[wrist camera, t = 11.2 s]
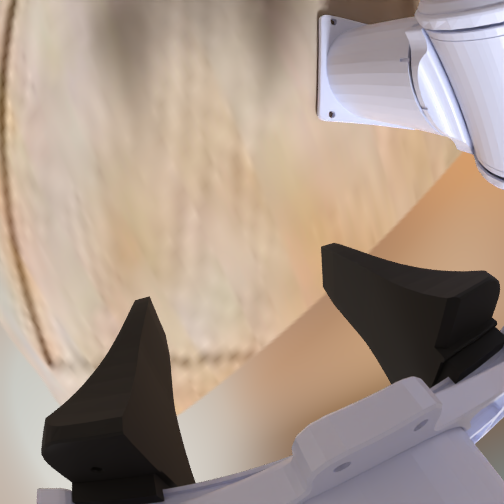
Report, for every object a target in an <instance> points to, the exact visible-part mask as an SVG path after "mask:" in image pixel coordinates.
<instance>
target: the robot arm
mask: <svg viewBox="0 0 504 504" xmlns="http://www.w3.org/2000/svg"><path fill="white" fill-rule="evenodd" d="M414 15H415V16H414V17H408V18H401V19H396V20H390V21H385V22H380V23H375V24H370V25H368V24H365V23H361V22H357V21H353V20H349V19H345V18H341V17H336V16H332V15H322V16H321V17H320V18H319V70H318V106H317V115H318V118H319V119H320V120H323V121H334V122H348V123H359V124H370V125H379V126H388V127H396V128H403V129H411V130H414V129H418V130H422V131H426V132H430V133H434V134H438V135H442V136H446V137H449V138H450V139H452V141H453V142H454V143H455V145H456V147H457V149H458V150H461V151H464V152H467V153H470V154H474V158H475V162H476V166H477V167H478V170H479V172H480V173H481V174H482V176H483V177H484V178H485V179H486V180H487V181H488V182H490V183H491V184H493V185H494V186H496V187H498V188H501V189H503V190H504V0H420V2H419V5H418V8H417V10H416V11H415V14H414ZM331 20H333V21H334V25H332V24H331ZM330 111H331V112H332V114H333V115H332V117H329V112H330ZM321 254H322V274H323V287H324V289H325V291H326V292H327V294H328V296H329V297H330V299H331V300H332V302H333V304H334V305H335V306H336V307H337V309H338V310H340V312H341V313H342V314H343V316H344V317H345V318H346V319H347V320H348V322H349V323H350V324H351V325H352V326H353V327H354V329H355V330H356V331H357V332H358V333H359V334H360V336H361V337H362V338H363V339H364V341H365V342H366V343H367V345H368V346H369V348H370V349H371V351H372V352H373V354H374V355H375V357H376V359H377V360H378V362H379V363H380V365H381V367H382V369H383V370H384V372H385V374H386V376H387V377H388V379H389V381H390V383H391V385H390V386H388V387H386V388H384V389H382V390H380V391H378V392H376V393H374V394H372V395H370V396H368V397H366V398H363V399H361V400H359V401H358V402H355V403H353V404H350V405H348V406H346V407H344V408H342V409H339V410H337V411H335V412H332V413H330V414H328V415H325V416H323V417H322V418H320V419H318V420H316V421H314V422H313V423H311V424H309V425H308V426H307V427H306V428H304V430H302V431H301V432H300V433H299V434H298V435H297V436H296V438H295V441H294V443H293V446H292V454H293V455H292V456H289V457H286V458H284V459H281V460H278V461H275V462H272V463H269V464H266V465H263V466H259V467H256V468H253V469H249V470H246V471H243V472H239V473H236V474H232V475H228V476H225V477H220V478H217V479H213V480H208V481H204V482H199V483H195V480H194V477H193V474H192V471H191V468H190V465H189V461H188V458H187V455H186V452H185V448H184V444H183V441H182V437H181V433H180V429H179V425H178V421H177V416H176V412H175V406H174V399H173V388H172V377H171V365H170V355H169V349H168V344H167V340H166V335H165V332H164V330H163V328H162V325H161V323H160V321H159V318H158V316H157V313H156V311H155V309H154V306H153V304H152V301H151V299H150V296H149V297H146V298H142V299H139V300H135V302H134V304H133V306H132V308H131V310H130V312H129V314H128V316H127V318H126V320H125V322H124V324H123V326H122V328H121V330H120V332H119V334H118V336H117V338H116V340H115V341H114V343H113V345H112V347H111V348H110V350H109V352H108V353H107V355H106V356H105V358H104V359H103V361H102V362H101V363H100V365H99V366H98V368H97V369H96V370H95V371H94V373H93V374H92V375H91V376H90V377H89V379H88V380H87V381H86V382H85V383H84V384H83V386H82V387H81V388H80V389H79V390H78V391H77V392H76V393H75V394H74V395H73V396H72V397H71V398H70V399H69V400H68V401H66V402H65V403H64V404H63V405H62V406H61V407H59V408H58V409H57V410H56V411H54V413H52V414H51V415H49V416H48V417H47V418H46V419H45V426H44V431H43V440H42V448H41V451H42V452H41V453H42V456H43V458H44V460H45V461H46V462H47V463H48V464H49V465H50V466H51V467H52V468H54V469H55V470H56V471H58V472H59V473H60V474H61V475H63V476H64V477H65V478H67V479H68V480H70V481H71V482H72V491H71V490H68V489H62V488H39V489H37V504H504V481H503V480H502V478H501V477H500V476H499V474H497V472H496V471H495V469H494V468H493V467H492V466H491V464H490V463H489V462H488V460H487V459H486V458H485V456H484V455H483V454H482V453H481V451H480V450H479V449H478V448H477V446H476V445H475V443H476V442H477V441H478V440H480V439H481V438H482V437H483V436H484V435H485V434H486V433H487V432H488V431H489V430H490V429H491V428H493V427H494V426H495V425H496V424H497V423H498V422H499V421H500V419H502V418H503V417H504V326H503V328H502V329H501V330H500V331H499V330H498V329H497V328H496V327H495V326H496V325H497V321H496V320H494V319H493V318H492V316H493V313H494V310H495V307H496V304H497V301H498V297H499V293H500V284H499V281H498V280H497V279H496V278H495V277H493V276H492V275H490V274H489V273H487V272H486V271H465V272H461V271H440V270H431V269H423V268H417V267H412V266H408V265H403V264H398V263H395V262H392V261H388V260H385V259H382V258H378V257H375V256H372V255H369V254H366V253H364V252H361V251H358V250H355V249H352V248H349V247H346V246H343V245H340V244H336V243H332V244H329V245H325V246H322V247H321Z"/></svg>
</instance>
